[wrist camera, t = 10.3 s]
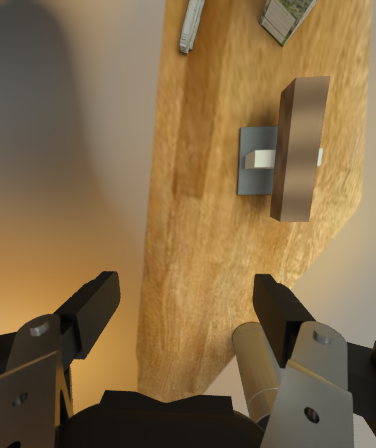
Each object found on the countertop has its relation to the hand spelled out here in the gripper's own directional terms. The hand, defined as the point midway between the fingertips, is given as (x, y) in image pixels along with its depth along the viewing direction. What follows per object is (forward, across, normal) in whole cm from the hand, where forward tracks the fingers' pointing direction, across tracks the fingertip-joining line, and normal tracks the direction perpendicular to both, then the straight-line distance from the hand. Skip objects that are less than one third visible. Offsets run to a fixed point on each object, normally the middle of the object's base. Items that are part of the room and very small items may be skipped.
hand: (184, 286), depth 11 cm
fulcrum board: (+28, -15, -9) cm, 33 cm away
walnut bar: (+21, -15, -9) cm, 27 cm away
